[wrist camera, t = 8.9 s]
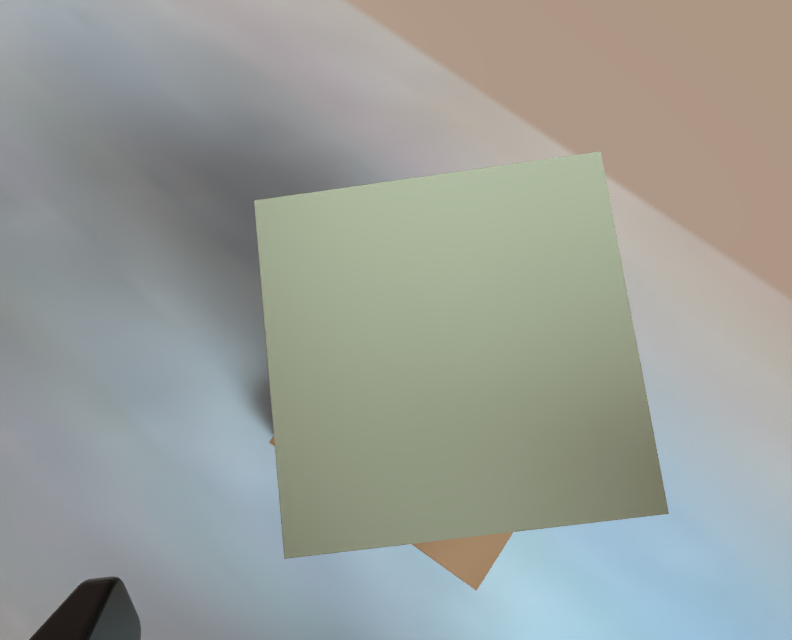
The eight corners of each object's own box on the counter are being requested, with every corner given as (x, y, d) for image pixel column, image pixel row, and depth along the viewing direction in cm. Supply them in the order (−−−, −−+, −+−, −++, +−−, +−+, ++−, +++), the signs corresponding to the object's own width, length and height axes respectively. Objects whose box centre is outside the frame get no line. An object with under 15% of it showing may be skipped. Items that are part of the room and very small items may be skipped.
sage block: (553, 488, 20) (668, 513, 9) (372, 509, 20) (284, 559, 10) (524, 311, 21) (600, 151, 10) (352, 333, 21) (254, 200, 11)
